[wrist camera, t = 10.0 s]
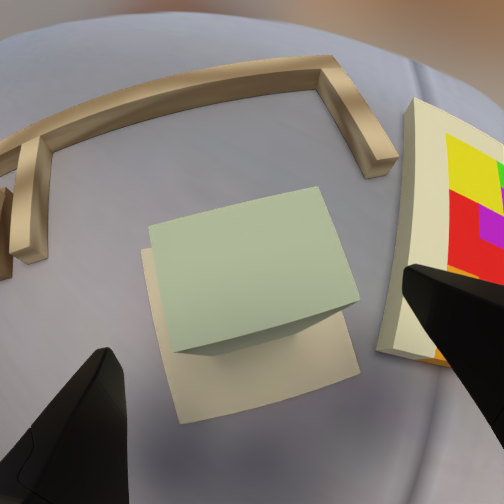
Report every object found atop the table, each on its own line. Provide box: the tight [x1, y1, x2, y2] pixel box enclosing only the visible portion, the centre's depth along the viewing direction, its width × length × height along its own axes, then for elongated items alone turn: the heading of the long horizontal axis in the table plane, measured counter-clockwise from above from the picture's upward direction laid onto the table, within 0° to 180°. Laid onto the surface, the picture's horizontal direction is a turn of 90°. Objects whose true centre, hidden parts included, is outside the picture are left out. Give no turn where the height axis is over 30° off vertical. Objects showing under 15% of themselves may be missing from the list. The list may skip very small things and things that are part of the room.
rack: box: [0, 55, 399, 264], centre depth 21 cm, size 12×38×2 cm, turn 106°
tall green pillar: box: [148, 186, 361, 356], centre depth 13 cm, size 4×5×10 cm
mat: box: [141, 247, 360, 424], centre depth 18 cm, size 11×11×1 cm
